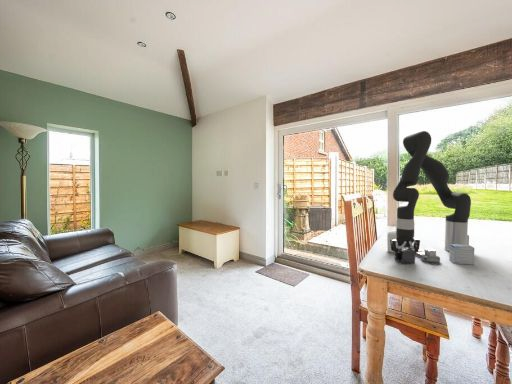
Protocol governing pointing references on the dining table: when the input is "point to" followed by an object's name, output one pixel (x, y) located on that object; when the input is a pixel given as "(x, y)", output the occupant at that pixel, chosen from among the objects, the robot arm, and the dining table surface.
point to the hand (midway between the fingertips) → (404, 259)
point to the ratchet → (428, 256)
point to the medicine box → (461, 254)
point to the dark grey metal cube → (407, 256)
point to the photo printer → (390, 236)
